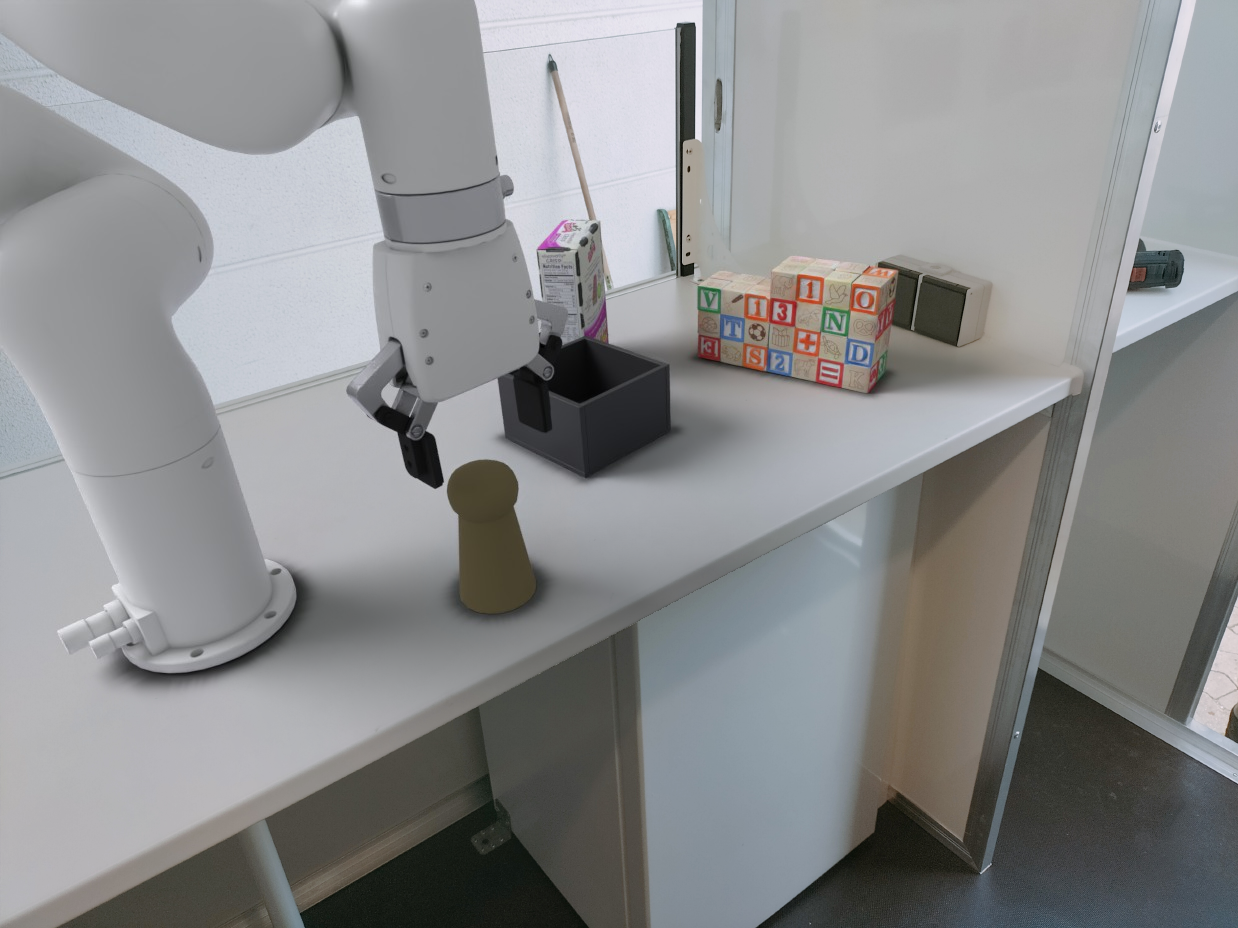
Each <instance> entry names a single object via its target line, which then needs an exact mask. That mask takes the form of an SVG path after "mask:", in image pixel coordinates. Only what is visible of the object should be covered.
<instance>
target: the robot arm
mask: <svg viewBox="0 0 1238 928" xmlns="http://www.w3.org/2000/svg"><path fill="white" fill-rule="evenodd" d="M0 34H1V35H2V36H3V37H4V38H6V39H8V40H9V41H11V42H12V43H14V45H16V46H17V47H18V48H20V49H21V50H22V51H23V52H25V53H26V54H27V55H29V56H31V58H33V59H34V60H36V61H37V62H39V63H40V64H42V65H43V66H45V67H46V68H48V69H49V70H51V71H52V72H54V73H55V74H57V75H59V76H61V77H62V78H64V79H66V80H67V81H69V82H71V83H73V84H75V85H77V86H79V87H80V88H82V89H83V90H86V91H88V92H90V93H92V94H94V95H96V96H98V97H100V98H102V99H104V100H107V101H109V102H111V103H112V104H114V105H117V106H120V107H121V108H123V109H126V110H128V111H131V112H132V113H135V114H137V115H139V116H142V117H143V118H146V119H148V120H151V121H153V122H154V123H157V124H159V125H162V126H164V127H166V128H168V129H170V130H173V131H174V132H177V133H179V134H181V135H184V136H186V137H189V138H191V139H193V140H196V141H198V142H200V143H204V144H206V145H209V146H211V147H215V148H217V149H222V150H225V151H228V152H233V153H239V154H244V155H249V156H259V155H261V156H262V155H264V156H265V155H267V156H268V155H273V154H279V153H282V152H285V151H287V150H290V149H292V148H294V147H295V146H297V145H299V144H301V143H302V142H304V141H305V140H306V139H307V138H309V137H310V136H311V135H312V134H314V133H315V132H316V131H318V130H320V129H322V128H323V127H326V126H328V125H330V124H332V123H334V122H336V121H340V120H343V119H349V118H353V117H357V118H358V120H359V123H360V127H361V133H362V138H363V142H364V147H365V152H366V156H367V161H368V166H369V170H370V176H371V180H372V185H373V189H374V195H375V200H376V205H377V210H378V214H379V220H380V225H381V228H382V232H383V238H384V239H383V240H381V241H378V242H376V243H374V244H373V245H372V293H373V294H372V295H373V305H374V312H375V313H374V314H375V321H376V329H377V337H378V343H379V349H380V350H379V352H378V353H377V354H376V355H375V356H374V357H373V358H372V359H371V360H370V362H368V364H367V365H365V367H364V368H362V370H361V371H360V372H359V373H358V374H357V375H356V376H355V377H354V378H353V380H351V382H349V384H348V385H347V386H346V390H345V391H346V395H347V396H348V397H349V399H351V400H352V402H353V403H354V404H355V405H356V406H358V408H359V409H360V410H361V411H363V412H364V413H365V414H366V417H367V418H368V419H370V420H372V421H374V422H375V423H378V424H379V425H381V426H383V427H385V428H387V429H390V430H392V431H394V432H396V433H397V434H396V435H397V438H398V442H399V447H400V451H401V455H402V460H403V464H404V468H405V470H406V472H407V473H408V475H409V476H411V477H412V478H414V479H417V480H419V481H420V482H421V483H423V484H425V485H427V486H428V487H430V488H431V489H434V490H436V489H439V488H440V487H442V486H443V485H444V483H445V479H444V473H443V469H442V464H441V460H440V454H439V449H438V445H437V439H436V437H435V435H434V434H433V433H432V432H429V431H428V430H427V429H428V427H429V425H430V422H431V421H432V418H433V415H434V413H435V411H436V409H437V406H438V404H439V403H442V402H444V401H447V400H450V399H453V398H455V397H457V396H460V395H462V394H464V393H467V392H469V391H471V390H474V389H477V388H478V387H480V386H483V385H485V384H487V383H490V382H492V381H494V380H498V378H499V377H501V376H503V375H506V374H508V373H510V372H512V371H514V370H517V369H519V372H517V373H514V374H513V375H514V378H513V384H514V391H515V398H516V405H517V412H518V418H519V421H520V422H521V423H522V424H525V425H527V426H529V427H531V428H533V429H536V430H538V431H540V432H542V433H547V432H549V431H551V430H552V421H551V406H550V398H549V389H548V381H547V380H550V379H551V378H552V377H553V374H554V367H553V366H552V365H553V363H554V361H555V359H556V357H557V355H558V353H559V351H560V349H561V347H562V339H561V335H563V332H564V328H565V324H566V320H567V317H568V310H567V308H565V307H562V306H559V305H556V304H552V303H548V302H544V301H542V300H539V299H535V297H534V291H533V287H532V281H531V278H530V272H529V269H528V266H527V261H526V258H525V254H524V251H523V247H522V245H521V242H520V238H519V235H518V233H517V231H516V227H515V225H514V222H513V221H511V220H510V219H508V218H506V209H505V208H506V207H505V202H504V199H505V198H507V197H511V196H512V195H513V194H514V192H515V186H514V182H513V179H512V178H511V177H510V176H509V175H508V174H502V175H501V172H500V169H499V160H498V152H497V146H496V139H495V131H494V123H493V113H492V107H491V101H490V93H489V86H488V78H487V77H488V76H487V70H486V63H485V56H484V48H483V42H482V41H483V39H482V34H481V26H480V19H479V14H478V8H477V4H476V2H475V0H0ZM214 251H215V247H214V239H213V234H212V231H211V227H210V225H209V223H208V221H207V218H206V217H205V215H204V214H203V212H202V211H201V209H200V208H199V206H198V205H197V203H195V201H194V200H193V198H191V196H189V195H188V194H187V192H186V191H184V190H183V189H181V187H179V186H178V185H177V184H176V183H174V182H173V181H171V180H170V179H168V177H166V176H164V174H161V173H160V172H158V171H157V170H155V169H154V168H152V167H150V166H149V165H147V164H145V163H144V162H142V161H140V160H138V159H137V158H134V157H133V156H131V155H130V154H128V153H126V152H125V151H123V150H121V149H119V147H116V146H114V145H112V144H110V143H109V142H108V141H105V140H104V139H102V138H100V137H99V136H98V135H95V134H94V133H92V132H90V131H88V130H87V129H85V128H83V127H81V126H80V125H78V124H77V123H75V122H73V121H71V120H70V119H68V118H66V117H64V116H62V115H61V114H59V113H57V112H56V111H54V110H52V109H50V108H49V107H46V105H43V104H42V103H40V102H38V101H36V100H34V99H33V98H31V97H29V96H28V95H26V94H24V93H22V92H20V91H18V90H16V89H14V88H12V87H10V86H8V85H5V84H3V83H0V349H1V350H2V351H3V353H4V354H5V356H6V357H7V358H8V360H9V361H10V362H11V364H12V365H13V366H14V368H15V369H16V371H17V372H18V374H19V375H20V377H21V378H22V380H23V381H24V383H25V385H27V387H28V389H29V390H30V392H31V394H32V396H33V398H34V399H35V401H36V403H37V405H38V406H39V408H40V410H41V412H42V414H43V416H44V418H45V420H46V422H47V424H48V426H49V428H50V430H51V432H52V435H53V437H54V439H55V441H56V443H57V445H58V448H59V450H60V452H61V455H62V457H63V459H64V462H65V464H66V466H67V467H68V468H69V470H70V473H71V476H72V477H73V480H74V482H75V484H76V486H77V489H78V491H79V493H80V495H81V498H82V500H83V503H84V505H85V507H86V509H87V511H88V513H89V515H90V518H91V520H92V523H93V525H94V528H95V530H96V532H97V534H98V536H99V539H100V542H101V543H102V545H103V548H104V551H105V552H106V554H107V556H108V559H109V562H110V564H111V566H112V568H113V570H114V573H115V575H116V577H117V580H118V583H115V584H113V585H112V586H111V590H112V593H113V595H114V597H115V599H113V600H112V601H110V602H108V603H105V604H103V605H102V608H103V610H102V611H100V612H97V613H95V614H93V615H91V616H88V617H86V618H82V619H79V620H78V621H75V622H73V623H71V624H68V625H66V626H64V627H62V628H60V629H57V630H56V633H57V635H58V637H59V639H60V642H61V643H62V645H63V647H64V648H65V650H66V651H67V653H68V655H73V654H75V653H77V652H79V651H81V650H83V649H85V648H87V647H89V648H90V649H91V652H92V654H93V655H94V656H95V658H96V659H97V660H100V659H101V658H103V657H106V656H108V655H110V654H112V653H114V652H116V651H117V650H118V649H120V648H121V650H122V653H123V655H124V657H126V658H127V659H128V660H129V662H130V663H131V664H133V665H134V666H137V667H138V668H139V669H141V670H142V669H143V670H146V671H150V672H153V673H163V674H164V673H165V674H181V673H190V672H196V671H202V670H206V669H209V668H213V667H216V666H220V665H222V664H225V663H228V662H231V661H232V660H236V659H237V658H240V657H241V656H243V655H245V654H247V653H249V652H251V651H252V650H255V649H256V648H257V647H259V646H261V645H262V644H263V643H264V642H267V641H268V640H269V639H270V638H272V636H273V635H275V633H277V632H278V631H279V630H280V629H281V627H282V626H283V625H284V624H285V623H286V621H287V620H288V619H289V618H290V616H291V615H292V613H293V610H294V608H295V606H296V601H297V589H296V584H295V582H294V578H293V576H292V574H291V573H290V572H289V570H288V569H287V568H286V567H284V566H283V565H282V564H280V563H278V562H276V561H274V560H272V559H267V558H264V555H263V551H262V549H261V545H260V543H259V542H260V541H259V539H258V536H257V533H256V530H255V526H254V524H253V521H252V517H251V514H250V511H249V508H248V505H247V502H246V498H245V496H244V493H243V490H242V487H241V483H240V480H239V478H238V474H237V472H236V469H235V465H234V462H233V459H232V457H231V456H232V455H231V452H230V449H229V446H228V444H227V441H226V437H225V435H224V431H223V428H222V425H221V422H220V420H219V417H218V413H217V412H216V408H215V405H214V401H213V399H212V397H211V394H210V392H209V389H208V386H207V384H206V382H205V380H204V378H203V376H202V374H201V372H200V370H199V368H198V367H197V365H196V364H195V362H194V360H193V359H192V358H191V356H190V354H189V353H188V352H187V350H186V349H185V347H184V345H183V344H182V343H181V340H180V339H179V337H178V335H177V333H176V330H175V328H174V325H173V322H172V319H173V316H174V315H175V314H176V313H177V311H178V310H179V309H180V307H182V305H184V303H186V302H187V300H188V299H190V297H191V296H193V295H194V294H195V292H197V290H198V289H199V288H200V287H201V286H202V285H203V283H204V282H205V280H206V278H207V277H208V275H209V272H210V270H211V267H212V264H213V260H214V253H215V252H214ZM539 320H540V322H541V323H540V328H539ZM388 384H389V385H390V386H391V387H393V388H397V389H398V391H397V394H396V396H395V398H394V400H393V403H392V405H391V407H390V406H389V404H387V402H386V401H385V400H384V398H383V396H382V392H383V389H384V388H385V387H386V386H387V385H388Z"/></svg>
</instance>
